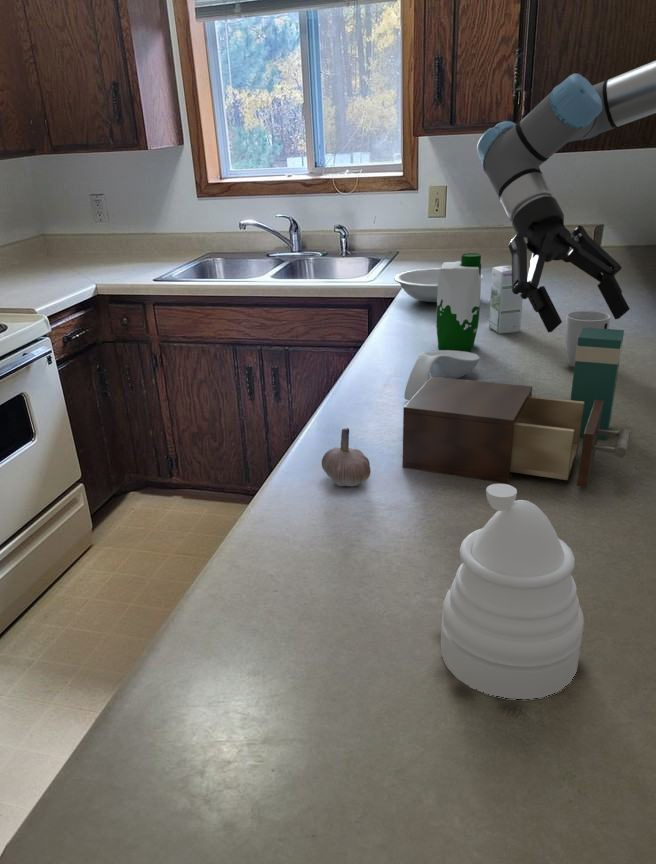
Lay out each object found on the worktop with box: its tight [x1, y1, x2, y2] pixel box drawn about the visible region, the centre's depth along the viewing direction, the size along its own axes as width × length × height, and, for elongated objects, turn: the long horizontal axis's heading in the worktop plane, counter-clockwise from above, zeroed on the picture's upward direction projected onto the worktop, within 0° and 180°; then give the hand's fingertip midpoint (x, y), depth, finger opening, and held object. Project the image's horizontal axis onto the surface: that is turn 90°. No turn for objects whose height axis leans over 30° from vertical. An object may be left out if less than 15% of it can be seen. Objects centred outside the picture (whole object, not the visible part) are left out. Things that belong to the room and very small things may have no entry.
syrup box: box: [488, 264, 524, 334], centre depth 172 cm, size 6×6×14 cm
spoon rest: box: [403, 349, 480, 401], centre depth 142 cm, size 24×12×7 cm, turn 151°
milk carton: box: [435, 252, 482, 353], centre depth 160 cm, size 9×9×20 cm
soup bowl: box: [393, 267, 484, 303], centre depth 204 cm, size 24×24×7 cm
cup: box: [565, 310, 611, 368], centre depth 147 cm, size 8×8×10 cm
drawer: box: [510, 395, 631, 488], centre depth 106 cm, size 19×13×8 cm
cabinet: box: [401, 376, 533, 484], centre depth 111 cm, size 16×15×10 cm
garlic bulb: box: [321, 427, 371, 487], centre depth 106 cm, size 8×7×8 cm
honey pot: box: [440, 483, 585, 701], centre depth 68 cm, size 13×13×18 cm
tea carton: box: [570, 327, 625, 441], centre depth 116 cm, size 6×6×16 cm
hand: (589, 321), depth 114 cm, fingers open, 13 cm apart
